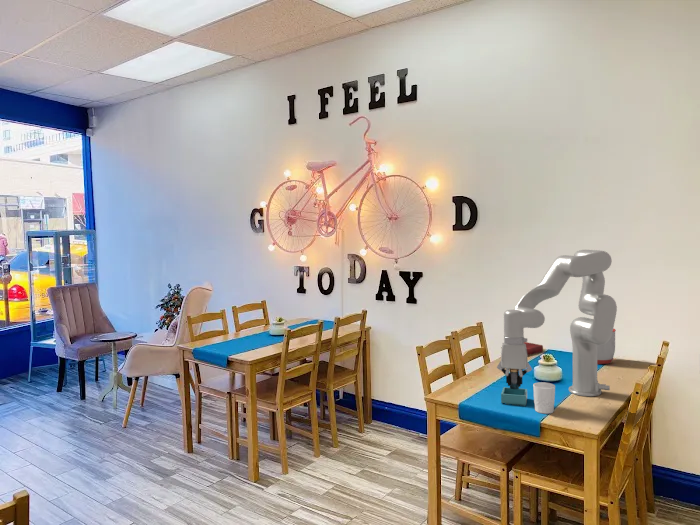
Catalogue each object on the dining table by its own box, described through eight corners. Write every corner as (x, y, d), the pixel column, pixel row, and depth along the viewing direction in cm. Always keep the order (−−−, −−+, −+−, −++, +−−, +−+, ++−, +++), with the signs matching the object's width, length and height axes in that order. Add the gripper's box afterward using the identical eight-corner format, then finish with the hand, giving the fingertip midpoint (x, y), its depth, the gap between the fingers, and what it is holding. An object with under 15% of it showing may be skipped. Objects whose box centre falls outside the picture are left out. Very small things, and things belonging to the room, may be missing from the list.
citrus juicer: (572, 360, 273) (572, 322, 271) (599, 356, 278) (599, 319, 276) (594, 367, 258) (594, 327, 256) (623, 363, 263) (623, 324, 261)
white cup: (550, 406, 205) (549, 381, 205) (558, 413, 197) (558, 387, 197) (530, 407, 205) (530, 382, 204) (538, 414, 197) (537, 388, 196)
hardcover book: (543, 352, 293) (543, 344, 292) (519, 358, 281) (519, 350, 281) (524, 348, 303) (524, 341, 302) (501, 354, 291) (500, 347, 290)
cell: (519, 387, 214) (518, 366, 213) (518, 389, 210) (518, 368, 210) (510, 386, 215) (510, 365, 214) (509, 388, 212) (509, 367, 211)
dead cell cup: (527, 398, 216) (527, 389, 215) (525, 406, 207) (525, 396, 207) (503, 396, 219) (503, 387, 219) (501, 403, 210) (501, 394, 210)
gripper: (535, 339, 212) (536, 384, 213) (493, 337, 218) (494, 381, 219) (535, 343, 205) (535, 389, 206) (491, 341, 211) (492, 386, 212)
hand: (514, 384), depth 213 cm, fingers closed on cell, 3 cm apart
